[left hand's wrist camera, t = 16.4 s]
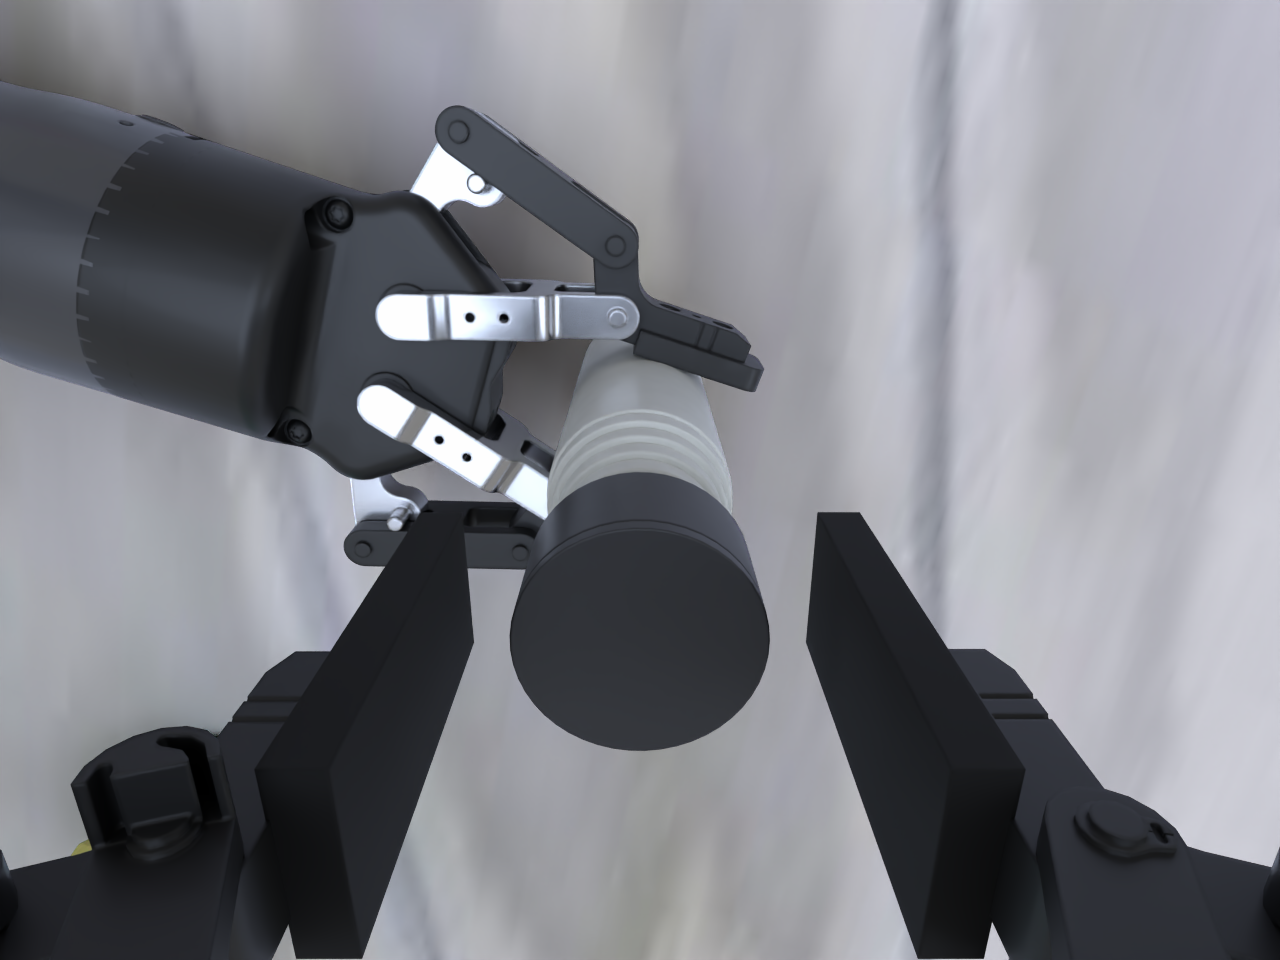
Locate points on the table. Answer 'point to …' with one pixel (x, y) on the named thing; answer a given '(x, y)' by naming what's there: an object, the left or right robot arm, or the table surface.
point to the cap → (639, 614)
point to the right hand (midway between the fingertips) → (724, 447)
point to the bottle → (637, 425)
